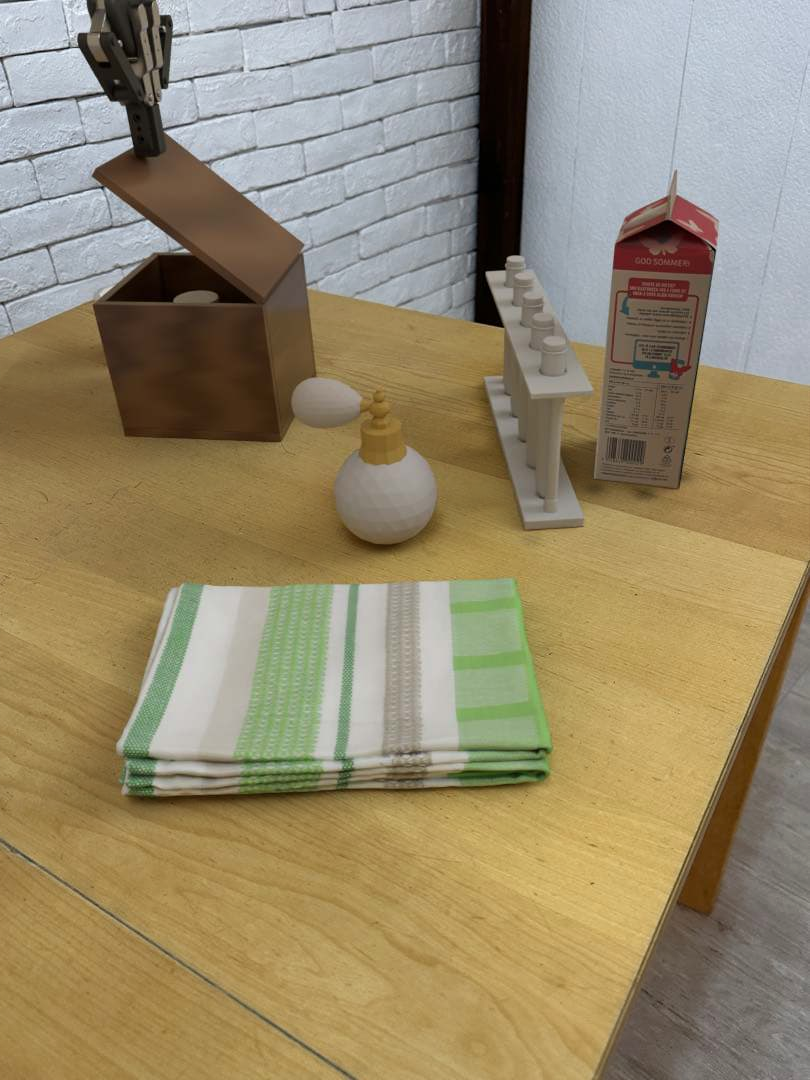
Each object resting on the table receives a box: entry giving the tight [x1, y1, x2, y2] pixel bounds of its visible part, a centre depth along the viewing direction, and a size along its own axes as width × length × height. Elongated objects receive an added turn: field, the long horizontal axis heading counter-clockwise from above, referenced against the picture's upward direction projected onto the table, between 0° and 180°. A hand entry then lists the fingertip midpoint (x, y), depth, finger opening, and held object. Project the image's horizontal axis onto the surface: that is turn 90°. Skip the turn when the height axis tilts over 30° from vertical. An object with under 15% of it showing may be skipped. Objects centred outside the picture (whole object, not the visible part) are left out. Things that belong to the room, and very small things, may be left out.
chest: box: [92, 251, 317, 443], centre depth 83 cm, size 15×14×12 cm
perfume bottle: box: [291, 376, 438, 545], centre depth 64 cm, size 8×10×12 cm
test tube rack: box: [483, 255, 595, 531], centre depth 73 cm, size 25×4×13 cm, turn 3°
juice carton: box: [593, 169, 720, 490], centre depth 68 cm, size 7×7×22 cm
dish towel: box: [115, 577, 554, 798], centre depth 53 cm, size 17×23×4 cm
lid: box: [91, 131, 306, 305], centre depth 76 cm, size 15×14×1 cm
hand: (151, 154), depth 74 cm, fingers closed
